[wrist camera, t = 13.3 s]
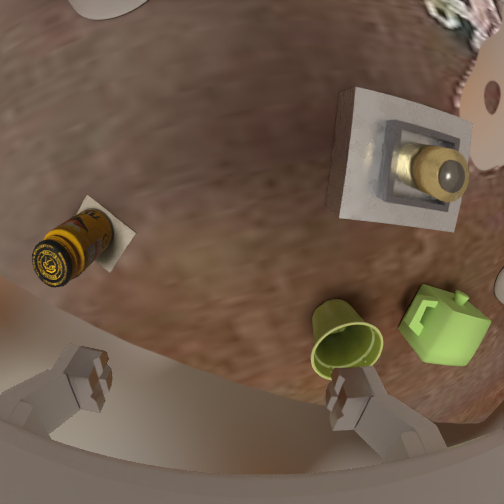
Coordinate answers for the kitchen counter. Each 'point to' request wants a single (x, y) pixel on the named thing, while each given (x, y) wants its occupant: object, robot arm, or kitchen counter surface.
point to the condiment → (81, 244)
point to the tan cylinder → (433, 170)
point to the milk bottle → (500, 286)
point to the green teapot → (443, 326)
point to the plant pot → (342, 339)
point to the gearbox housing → (388, 159)
